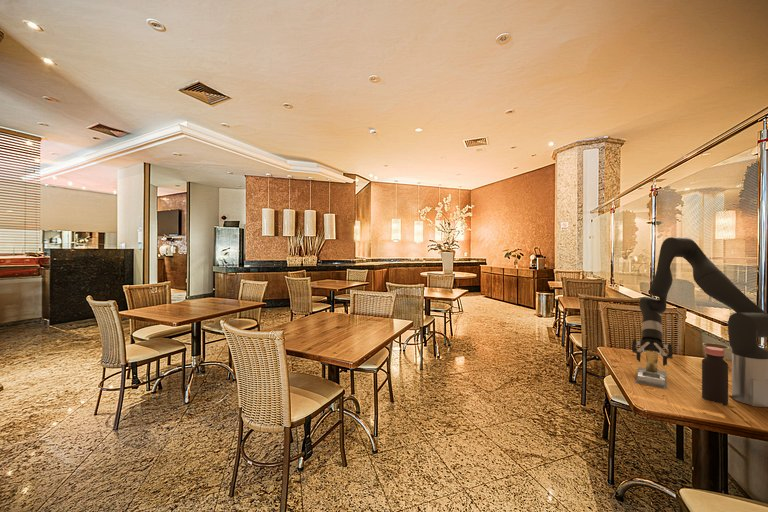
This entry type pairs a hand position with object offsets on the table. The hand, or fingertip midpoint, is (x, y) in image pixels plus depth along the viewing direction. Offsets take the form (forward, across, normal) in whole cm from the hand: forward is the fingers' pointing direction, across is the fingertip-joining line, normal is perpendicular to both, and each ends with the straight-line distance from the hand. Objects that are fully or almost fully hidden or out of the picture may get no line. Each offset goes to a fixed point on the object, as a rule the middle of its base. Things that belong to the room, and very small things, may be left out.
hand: (651, 362), depth 144 cm
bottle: (+16, +18, -7) cm, 26 cm away
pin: (+3, 0, +4) cm, 5 cm away
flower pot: (-24, +24, +33) cm, 48 cm away
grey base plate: (+7, 0, +1) cm, 7 cm away
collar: (+10, 0, -3) cm, 11 cm away
